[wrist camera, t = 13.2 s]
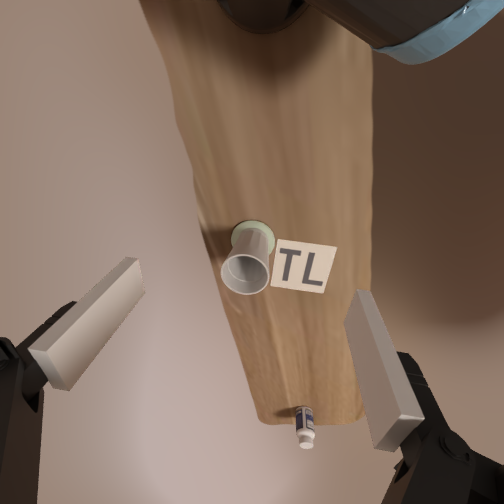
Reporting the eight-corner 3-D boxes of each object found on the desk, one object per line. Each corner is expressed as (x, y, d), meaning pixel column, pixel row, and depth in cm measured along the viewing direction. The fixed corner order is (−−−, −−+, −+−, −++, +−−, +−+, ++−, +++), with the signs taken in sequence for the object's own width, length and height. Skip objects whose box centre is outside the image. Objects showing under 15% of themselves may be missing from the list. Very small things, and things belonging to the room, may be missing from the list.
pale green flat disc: (232, 217, 48) (232, 218, 48) (277, 223, 48) (277, 224, 47) (230, 255, 53) (230, 257, 52) (271, 261, 52) (271, 263, 52)
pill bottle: (296, 414, 80) (297, 450, 72) (294, 405, 78) (295, 440, 70) (313, 415, 79) (316, 450, 71) (311, 405, 77) (314, 441, 68)
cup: (257, 264, 52) (250, 302, 42) (226, 244, 51) (211, 277, 41) (280, 239, 49) (279, 273, 38) (248, 215, 47) (238, 244, 37)
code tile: (277, 238, 50) (277, 239, 49) (336, 246, 49) (337, 247, 49) (270, 284, 56) (270, 285, 55) (323, 292, 55) (323, 293, 55)
